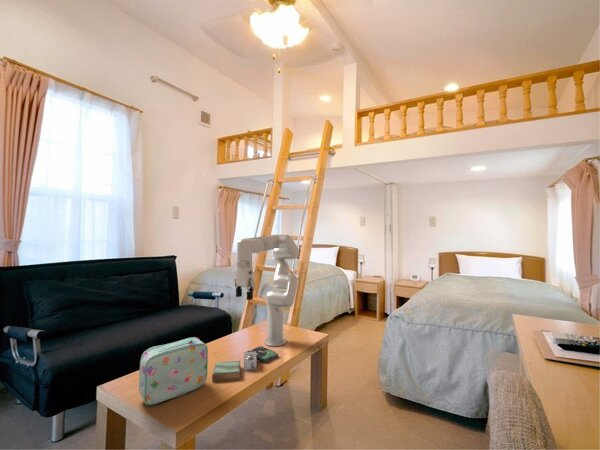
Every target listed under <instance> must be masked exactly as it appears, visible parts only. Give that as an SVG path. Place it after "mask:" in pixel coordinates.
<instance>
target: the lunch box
mask: <svg viewBox="0 0 600 450" xmlns="http://www.w3.org/2000/svg"><path fill="white" fill-rule="evenodd" d="M208 357H209V349H208V346H207V344H206V343H204V342H203V341H201V340H200V338H198V337H196V336H193V337H187V338H184V339H180V340H178V341H177V340H176V341H173V342H170V343H169V342H168V343H166V344H161V345H156V346H155V345H154V346H152V347H149V348H148V349H146V350H145V351H143V353H142V354H141V357H140V360H139V373H138V374H139V378H138V392H139V394H140V396H141V398H142V401H143V403H144V404H145V405H147V406H152V405H153V406H154V405H157V404H160V403H162V402H164V401H168V400H171V399H174V398H177V397H178V398H179V397H181V396H183V395H185V394H187V393H190V392H192V391H195V390H198V389H199V388H201V387H202V386H203V385H204V384H205V382H206V380H207V377H208V364H209V363H208V360H209V358H208Z"/></svg>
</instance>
